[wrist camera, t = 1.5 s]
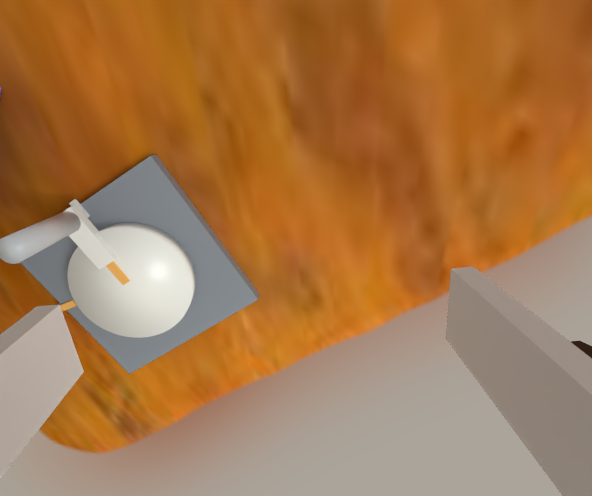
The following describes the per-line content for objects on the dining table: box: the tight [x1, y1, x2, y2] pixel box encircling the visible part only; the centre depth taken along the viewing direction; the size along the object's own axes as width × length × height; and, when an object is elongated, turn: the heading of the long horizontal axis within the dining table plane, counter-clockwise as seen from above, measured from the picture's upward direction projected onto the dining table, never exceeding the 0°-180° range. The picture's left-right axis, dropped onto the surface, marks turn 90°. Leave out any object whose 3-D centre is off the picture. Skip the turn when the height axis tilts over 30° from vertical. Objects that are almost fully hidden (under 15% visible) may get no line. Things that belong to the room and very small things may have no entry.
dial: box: [0, 205, 196, 338], centre depth 32 cm, size 15×12×10 cm
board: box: [20, 154, 259, 374], centre depth 38 cm, size 19×18×2 cm
